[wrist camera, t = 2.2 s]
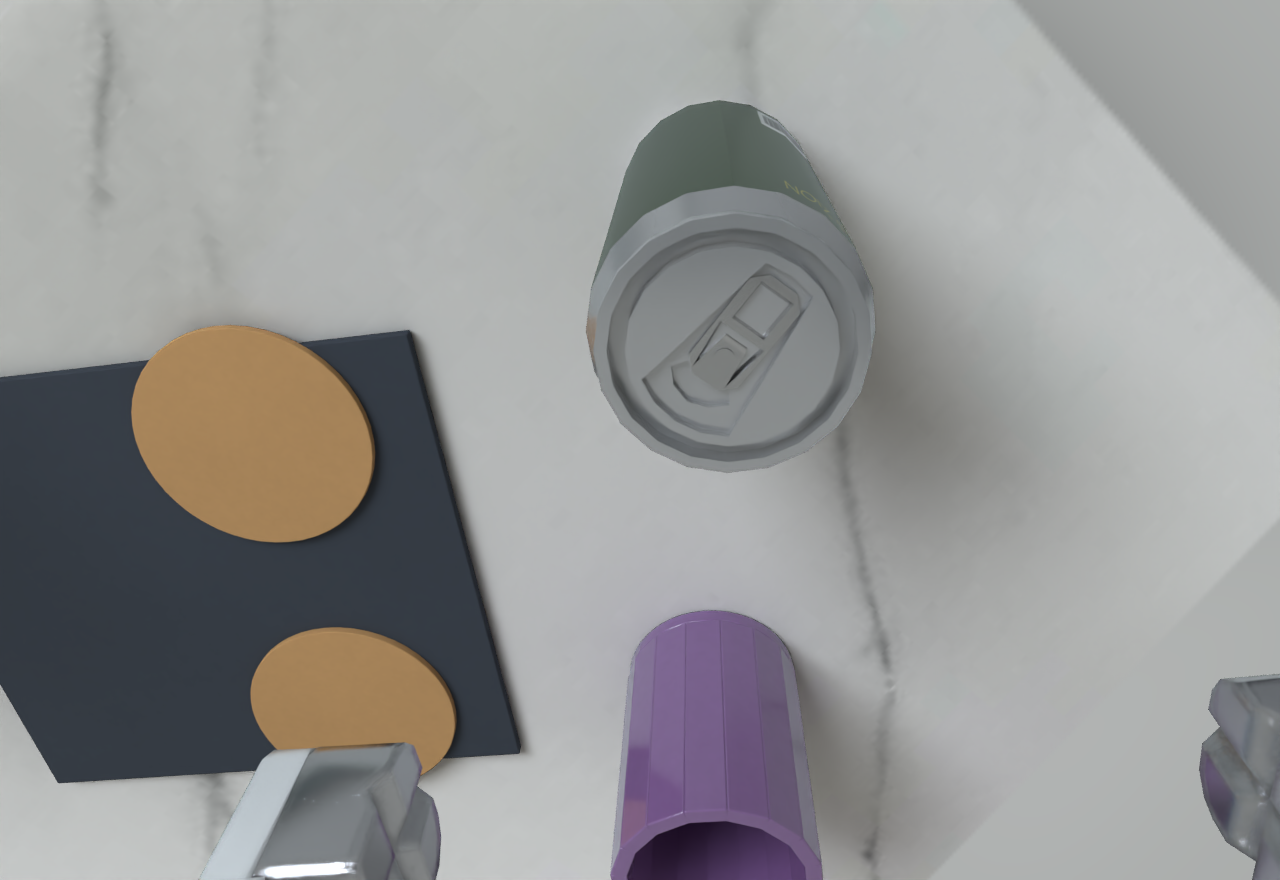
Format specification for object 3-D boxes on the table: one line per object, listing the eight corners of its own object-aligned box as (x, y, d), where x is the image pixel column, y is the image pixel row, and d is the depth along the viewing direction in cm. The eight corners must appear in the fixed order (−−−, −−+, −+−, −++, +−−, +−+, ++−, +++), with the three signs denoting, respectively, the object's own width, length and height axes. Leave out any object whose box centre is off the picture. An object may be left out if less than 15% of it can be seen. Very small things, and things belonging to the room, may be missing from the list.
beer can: (697, 55, 26) (701, 131, 15) (849, 172, 27) (951, 320, 16) (588, 215, 28) (522, 381, 17) (733, 317, 29) (756, 531, 18)
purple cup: (788, 603, 34) (817, 804, 26) (799, 730, 37) (828, 947, 29) (619, 616, 35) (596, 816, 27) (642, 740, 37) (628, 955, 29)
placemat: (402, 299, 29) (396, 307, 29) (526, 764, 38) (523, 777, 38) (-174, 368, 31) (-191, 376, 31) (73, 793, 41) (63, 806, 40)
